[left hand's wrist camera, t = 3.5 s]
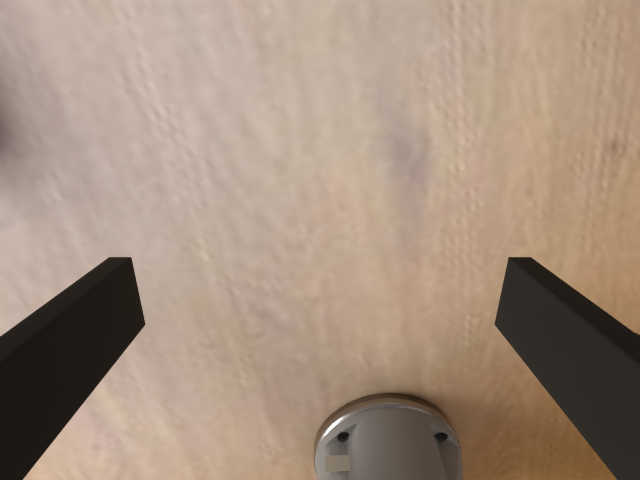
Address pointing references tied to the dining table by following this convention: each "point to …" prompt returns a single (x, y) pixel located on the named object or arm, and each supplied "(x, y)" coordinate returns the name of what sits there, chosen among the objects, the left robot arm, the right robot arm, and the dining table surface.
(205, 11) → the dining table surface
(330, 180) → the dining table surface
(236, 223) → the dining table surface
